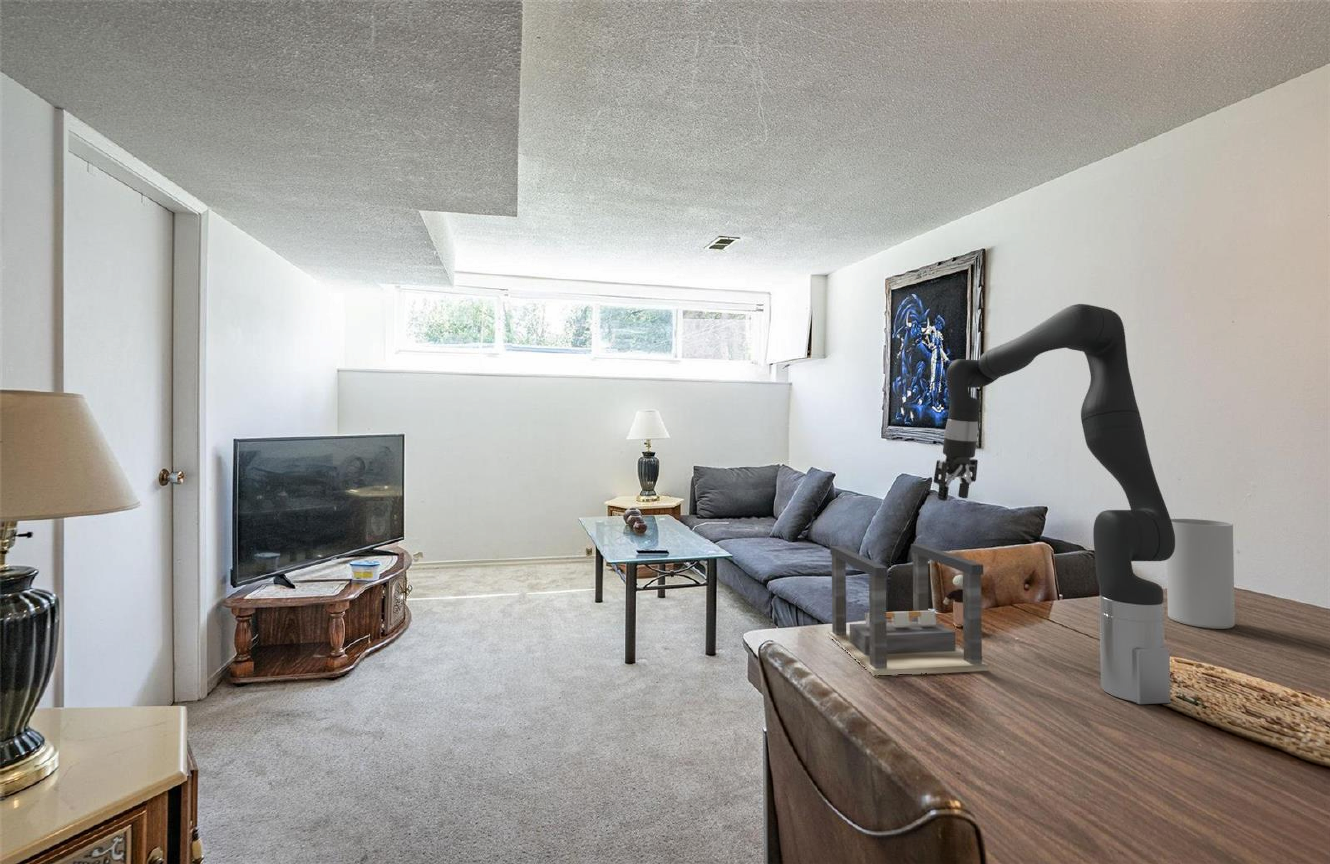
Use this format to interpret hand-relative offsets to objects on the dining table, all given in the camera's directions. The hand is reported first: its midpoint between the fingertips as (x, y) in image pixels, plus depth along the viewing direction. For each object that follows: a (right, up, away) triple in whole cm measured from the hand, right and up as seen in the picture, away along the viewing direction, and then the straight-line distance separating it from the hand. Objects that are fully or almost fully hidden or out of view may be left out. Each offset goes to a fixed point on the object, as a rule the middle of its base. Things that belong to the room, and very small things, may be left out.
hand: (952, 498), depth 157 cm
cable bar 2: (-14, -11, -24) cm, 30 cm away
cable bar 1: (-34, -11, -27) cm, 44 cm away
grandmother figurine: (-2, -31, -8) cm, 32 cm away
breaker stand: (-23, -31, -26) cm, 46 cm away
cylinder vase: (+59, -30, -6) cm, 67 cm away
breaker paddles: (-23, -25, -26) cm, 43 cm away
